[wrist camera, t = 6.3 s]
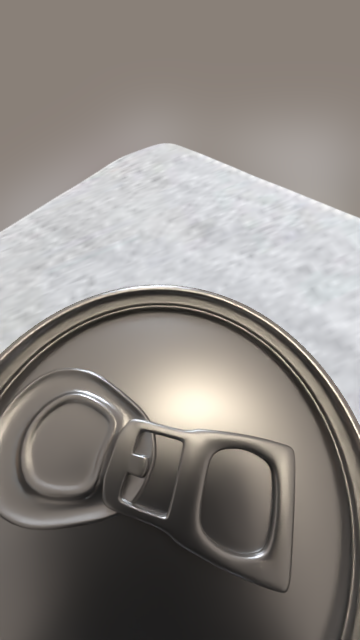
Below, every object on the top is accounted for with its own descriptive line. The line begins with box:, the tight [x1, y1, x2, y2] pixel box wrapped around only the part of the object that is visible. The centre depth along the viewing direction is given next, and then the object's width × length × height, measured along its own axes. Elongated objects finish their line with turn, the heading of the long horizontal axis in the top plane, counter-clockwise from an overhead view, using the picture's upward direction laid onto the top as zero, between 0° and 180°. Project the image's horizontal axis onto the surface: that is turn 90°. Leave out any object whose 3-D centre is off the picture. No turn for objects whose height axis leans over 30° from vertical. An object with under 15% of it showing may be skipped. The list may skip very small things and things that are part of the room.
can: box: [0, 285, 360, 640], centre depth 8 cm, size 6×6×12 cm
